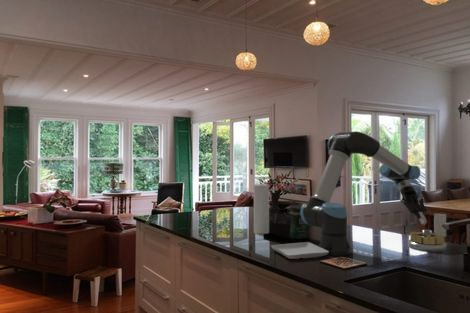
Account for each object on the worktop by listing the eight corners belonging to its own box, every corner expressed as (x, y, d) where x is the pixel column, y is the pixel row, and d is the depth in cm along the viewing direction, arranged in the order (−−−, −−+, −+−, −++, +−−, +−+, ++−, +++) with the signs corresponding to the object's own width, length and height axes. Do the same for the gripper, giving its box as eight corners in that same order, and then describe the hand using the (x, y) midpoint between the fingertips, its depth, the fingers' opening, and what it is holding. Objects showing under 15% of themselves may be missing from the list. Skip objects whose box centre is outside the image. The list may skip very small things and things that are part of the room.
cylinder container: (256, 234, 231) (256, 184, 231) (251, 231, 240) (251, 183, 240) (271, 233, 234) (271, 184, 234) (265, 230, 243) (265, 183, 243)
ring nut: (412, 243, 190) (412, 214, 190) (409, 237, 204) (409, 210, 204) (448, 245, 184) (448, 216, 184) (443, 239, 198) (443, 212, 198)
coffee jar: (295, 239, 215) (295, 206, 215) (287, 237, 222) (287, 205, 222) (309, 238, 219) (309, 205, 219) (301, 235, 226) (301, 204, 226)
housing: (421, 252, 185) (421, 233, 185) (402, 244, 201) (401, 227, 202) (454, 251, 187) (453, 232, 187) (431, 243, 204) (431, 226, 204)
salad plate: (287, 262, 169) (287, 254, 169) (269, 251, 189) (269, 244, 189) (330, 258, 175) (330, 251, 175) (308, 248, 195) (308, 241, 195)
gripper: (414, 193, 225) (432, 226, 209) (393, 193, 224) (410, 227, 207) (420, 185, 220) (439, 218, 203) (398, 185, 218) (415, 219, 202)
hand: (424, 223), depth 205 cm, fingers closed
